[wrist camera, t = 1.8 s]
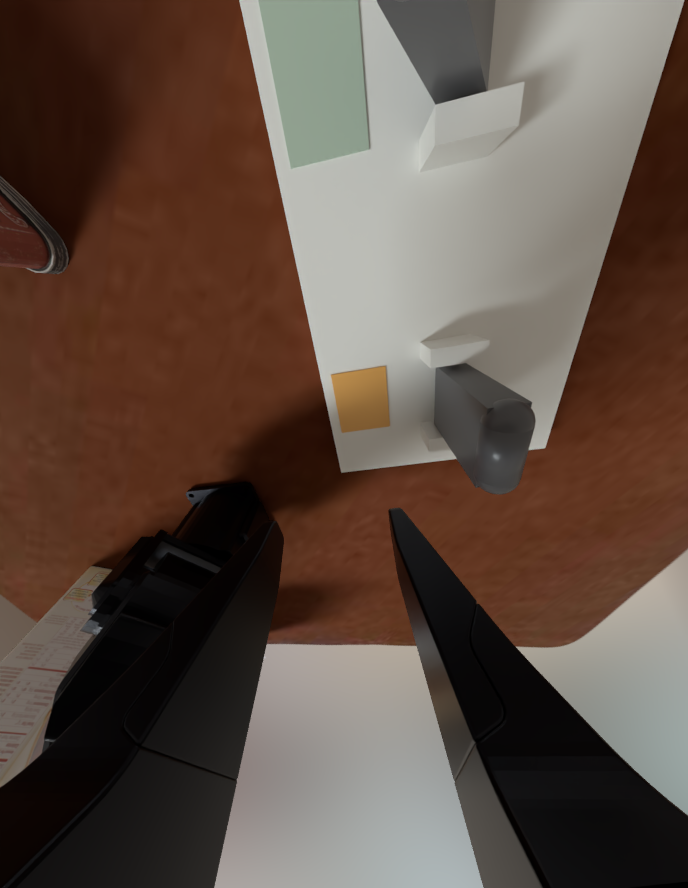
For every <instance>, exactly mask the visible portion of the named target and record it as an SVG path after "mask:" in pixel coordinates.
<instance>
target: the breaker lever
mask: <svg viewBox="0 0 688 888" xmlns="http://www.w3.org/2000/svg"><path fill="white" fill-rule="evenodd" d="M531 406H532V402H531V401H529V400H528V399H526V398H524V397H523V396H521V395H519V394H518V393H516V392H514V391H512V390H511V389H509V388H507V387H506V386H504V385H502V384H501V383H499V382H497V381H496V380H494V379H492V378H490V377H489V376H487V375H485V374H484V373H482V372H480V371H479V370H477V369H475V368H474V367H472V366H470V365H468V364H467V363H463V364H456V365H450V366H444V367H437V368H436V373H435V407H434V425H435V426H436V428H437V429H438V431H439V432H440V434H441V435H442V437H443V438H444V440H445V442H446V443H447V445H448V446H449V448H450V449H451V451H452V452H453V454H454V455H455V457H456V458H457V460H458V461H459V463H460V464H461V466H462V467H463V469H464V471H465V472H466V474H467V475H468V477H469V478H470V480H471V481H472V483H473V484H474V486H475V487H481V488H482V489H483V490H485V491H486V492H489V493H492V494H505V493H508V492H510V491H512V490H514V489H515V488H516V487H517V485H518V484H519V482H520V480H521V476H522V472H523V468H524V465H525V461H526V457H527V454H528V450H529V446H530V443H531V439H532V435H533V431H534V428H535V423H536V419H535V414H534V412H533V410H532V409H531Z"/></svg>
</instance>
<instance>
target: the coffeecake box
mask: <svg viewBox="0 0 688 888" xmlns="http://www.w3.org/2000/svg"><path fill="white" fill-rule="evenodd" d="M111 571H112V569H106V568H101V567H95V566H91V567H90V568H89V569H88V570H87V571H86V572H85V573H84V574H83V575H82V576H81V577H80V578H79V579H78V580H77V582H76V583H75V584H74V585H73V586H72V587H71V588H70V589H69V590H68V591H67V592H66V593H65V594H64V595H63V596H62V597H61V599H60V600H59V601H58V602H57V603H56V604H55V605H54V606H53V607H52V608H51V609H50V610H49V611H48V612H47V613H46V614H45V615H44V617H43V618H42V619H41V620H40V621H39V622H38V623H37V624H36V625H35V626H34V627H33V628H32V629H31V630H30V631H29V633H28V634H27V635H26V636H25V637H24V638H23V639H22V640H21V641H20V642H19V643H18V644H17V645H16V646H15V647H14V648H13V650H11V652H10V653H9V654H8V655H7V656H6V657H5V658H4V659H3V660H2V661H1V662H0V787H2V786H3V785H4V784H6V783H7V782H8V781H10V780H11V779H12V778H13V777H15V776H16V775H17V774H18V773H20V772H21V771H22V770H23V769H25V768H26V767H27V766H28V765H29V764H30V763H32V762H33V761H34V760H35V759H36V758H37V757H38V756H39V755H40V754H41V753H42V749H43V745H44V735H45V731H46V728H47V724H48V721H49V717H50V714H51V710H52V705H53V701H54V697H55V693H56V690H57V688H58V686H59V684H60V683H61V681H62V679H63V678H64V676H65V674H66V672H67V671H68V669H69V667H70V666H71V664H72V662H73V661H74V659H75V657H76V656H77V655H78V653H79V652H80V651H81V649H82V648H83V647H84V645H85V644H86V643H87V641H88V640H89V639H90V637H91V636H92V635H93V634H88V633H85V632H82V631H80V630H81V629H82V627H83V626H84V625H85V623H86V622H87V621H88V620H89V618H90V617H91V615H88V613H89V612H90V611H91V610H92V608H93V606H92V596H91V594H92V593H93V592H94V590H95V589H96V588H97V587H98V586H99V585H100V583H101V582H102V581H103V580H104V579H105V578H106V577H107V576H108V575H109V573H110V572H111Z"/></svg>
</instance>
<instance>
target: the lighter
mask: <svg viewBox="0 0 688 888" xmlns="http://www.w3.org/2000/svg"><path fill="white" fill-rule="evenodd" d="M68 260H69V258H68V252H67V248H66V246H65V244H64V242H63V240H62V239H61V237H60V236H59V235H58V233H57V232H56V231H55V230H54V229H53V228H52V227H51V226H50V225H49V223H48V222H47V221H46V220H45V219H44V218H43V217H42V216H41V215H40V214H39V213H38V212H37V211H36V210H35V209H34V208H33V207H32V205H31V204H30V203H29V202H28V201H27V200H26V199H25V198H24V197H23V196H21V195H20V194H19V193H18V192H17V191H16V190H15V189H14V188H13V187H12V186H11V185H10V184H9V183H7V182H6V181H5V180H4V179H3V178H2V177H1V176H0V266H8V267H21V268H27V269H29V270H31V271H33V272H36V273H50V274H59V273H61V272H64V270H65V269H66V268H67V266H68Z"/></svg>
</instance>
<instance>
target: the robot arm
mask: <svg viewBox="0 0 688 888" xmlns="http://www.w3.org/2000/svg"><path fill="white" fill-rule="evenodd" d="M246 487H247V488H246ZM186 496H187V498H188V499H189V501H190V502H191V504H192V505H193V507H192V508H191V510H190V511H189V512H188V514H187V515H186V516H185V518H184V519H183V521H182V522H181V523H180V525H179V526H178V527H177V529H176V530H175V532H174V533H173V534H172V536H171V535H169V534H167V533H168V532H166V531H164V530H162V529H161V530H160V531H159V532H158V533H157V535H156V536H155V537H153V536H151V537H141V538H140V539H139V540H138V542H137V543H136V544H135V545H134V546H133V547H132V549H131V550H130V551H129V552H128V553H127V554H126V556H125V557H124V558H123V559H122V560H121V561H120V562H119V563H118V565H117V566H116V567H115V568H114V569H113V570H112V571H111V572H110V573H109V575H108V576H107V577H106V578H105V579H104V580H103V581H102V582H101V583H100V585H99V586H98V587H97V588H96V589H95V590H94V592H93V593H92V594H91V596H92V606H93V608H92V610H91V611H90V612H89V613H88V615H91V617H90V618H89V620H88V621H87V622H86V623H85V625H84V626H83V627H82V629H81V630H80V631H82V632H85V633H88V634H93V635H92V636H91V637H90V639H89V640H88V641H87V643H86V644H85V645H84V647H83V648H82V649H81V651H80V652H79V653H78V655H77V656H76V657H75V659H74V661H73V662H72V664H71V666H70V667H69V669H68V671H67V672H66V674H65V676H64V678H63V679H62V681H61V683H60V684H59V686H58V688H57V690H56V693H55V697H54V701H53V705H52V710H51V714H50V717H49V721H48V724H47V728H46V731H45V735H44V745H43V749H42V753H41V754H40V755H39V756H38V757H37V758H36V759H35V760H34V761H33V762H32V763H30V764H29V765H28V766H27V767H26V768H25V769H23V770H22V771H21V772H20V773H18V774H17V775H16V776H15V777H13V778H12V779H11V780H10V781H8V782H7V783H6V784H4V785H3V786H2V787H0V888H214V886H215V881H216V876H217V872H218V867H219V862H220V858H221V853H222V849H223V844H224V839H225V834H226V830H227V825H228V821H229V816H230V812H231V807H232V802H233V797H234V793H235V788H236V784H237V780H236V779H237V778H238V774H239V768H240V764H241V760H242V755H243V751H244V746H245V741H246V737H247V732H248V728H249V723H250V718H251V713H252V709H253V704H254V700H255V695H256V691H257V686H258V681H259V677H260V672H261V667H262V662H263V658H264V654H265V649H266V644H267V640H268V635H269V630H270V626H271V621H272V617H273V612H274V607H275V603H276V598H277V593H278V588H279V581H280V572H281V563H282V554H283V545H284V537H283V534H282V532H281V530H280V527H279V525H278V523H277V522H276V521H269V518H268V516H267V514H266V511H265V509H264V507H263V505H262V503H261V501H260V500H259V498H258V496H257V494H256V492H255V490H254V488H253V486H252V484H250V483H248V482H243V483H235V484H226V485H218V486H210V487H202V488H194V489H189V490H188V491H187V493H186ZM389 522H390V531H391V537H392V544H393V550H394V556H395V562H396V569H397V574H398V579H399V583H400V587H401V591H402V594H403V598H404V602H405V605H406V609H407V612H408V616H409V620H410V623H411V627H412V630H413V634H414V638H415V641H416V645H417V648H418V652H419V656H420V659H421V663H422V666H423V670H424V674H425V677H426V681H427V684H428V688H429V692H430V695H431V699H432V703H433V706H434V710H435V713H436V717H437V721H438V724H439V728H440V732H441V735H442V739H443V742H444V746H445V750H446V753H447V757H448V760H449V764H450V768H451V771H452V775H453V778H454V780H455V786H456V790H457V793H458V797H459V800H460V804H461V807H462V811H463V815H464V818H465V822H466V826H467V829H468V832H469V836H470V840H471V844H472V847H473V851H474V855H475V858H476V862H477V865H478V869H479V873H480V876H481V880H482V883H483V887H484V888H688V815H686V814H685V813H684V812H683V811H681V810H680V809H679V808H678V807H677V806H675V805H674V804H673V803H672V802H670V801H669V800H668V799H667V798H665V797H664V796H663V795H662V794H661V793H660V792H658V791H657V790H656V789H655V788H654V787H653V786H651V785H650V784H649V783H648V782H647V781H646V780H645V779H644V778H642V776H640V775H639V774H638V773H637V772H636V771H635V770H634V769H633V768H632V767H631V766H630V765H629V764H628V763H627V762H626V761H625V760H623V759H622V758H621V757H620V756H619V755H618V754H617V753H616V752H615V751H614V750H613V749H612V748H611V747H610V746H609V745H608V743H606V741H605V740H604V739H603V738H602V737H601V736H600V735H599V734H598V733H597V732H596V731H595V730H594V729H593V728H592V727H591V726H590V725H589V724H588V723H587V722H586V721H585V720H584V719H583V717H581V716H580V714H579V713H578V712H577V711H576V710H575V709H574V708H573V707H572V706H571V705H570V704H569V703H568V702H567V701H566V700H565V699H564V698H563V697H562V696H561V695H560V694H559V693H558V691H557V690H556V689H554V687H553V686H552V685H551V684H550V683H549V682H548V681H547V680H546V679H545V678H544V677H543V676H542V675H541V674H540V673H539V672H538V671H537V670H536V669H535V668H534V666H533V665H532V664H531V663H530V662H529V661H528V660H527V659H526V658H525V657H524V656H523V654H521V652H520V651H519V650H518V649H517V648H516V647H515V646H514V645H513V644H512V643H511V641H510V640H509V639H508V638H507V637H506V636H505V634H504V633H503V632H502V631H501V630H500V629H499V627H498V626H497V625H496V624H495V623H494V622H493V620H492V619H491V618H490V617H489V615H488V614H487V613H486V612H485V611H484V609H483V608H482V607H481V606H480V604H476V603H477V601H476V600H475V598H474V597H473V596H472V595H471V594H470V592H469V591H468V590H467V589H466V587H465V586H464V585H463V584H462V582H461V581H460V580H459V579H458V578H457V576H456V575H455V574H454V573H453V571H452V570H451V569H450V568H449V566H448V565H447V564H446V563H445V562H444V560H443V559H442V558H441V557H440V555H439V554H438V553H437V552H436V550H435V549H434V548H433V547H432V545H431V544H430V543H429V542H428V541H427V539H426V538H425V537H424V536H423V534H422V533H421V532H420V531H419V529H418V528H417V527H416V526H415V525H414V523H413V522H412V521H411V520H410V518H409V517H408V516H407V515H406V513H405V512H404V511H403V510H402V509H401V508H393V509H389Z"/></svg>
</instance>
